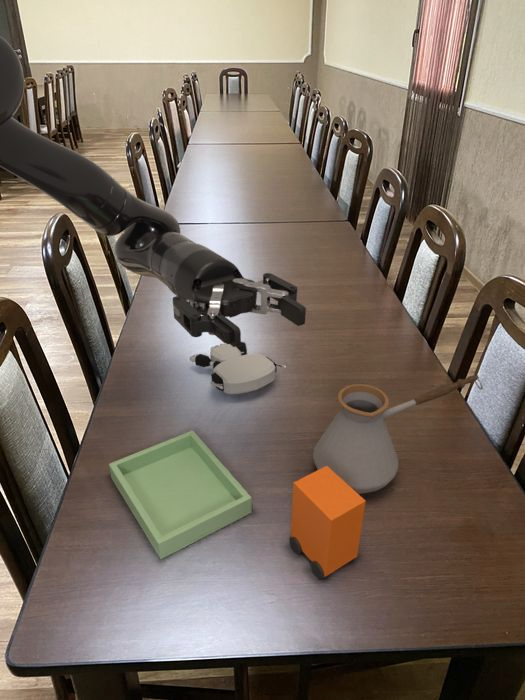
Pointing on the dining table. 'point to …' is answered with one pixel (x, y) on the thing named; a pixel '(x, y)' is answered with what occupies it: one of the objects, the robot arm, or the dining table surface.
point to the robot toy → (237, 368)
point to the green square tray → (179, 492)
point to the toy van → (326, 521)
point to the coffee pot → (367, 435)
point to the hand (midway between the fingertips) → (271, 327)
